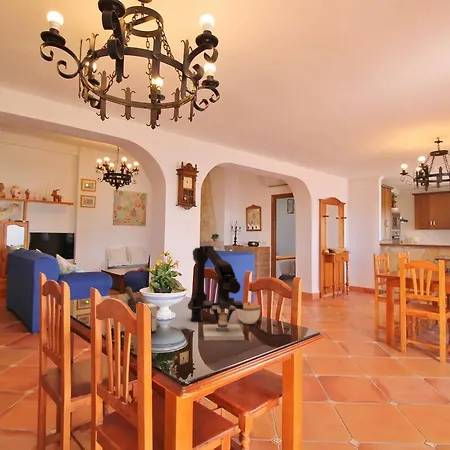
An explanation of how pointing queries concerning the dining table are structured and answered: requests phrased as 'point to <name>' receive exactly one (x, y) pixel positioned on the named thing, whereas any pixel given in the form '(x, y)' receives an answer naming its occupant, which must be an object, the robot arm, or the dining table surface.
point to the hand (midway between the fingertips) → (222, 323)
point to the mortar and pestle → (133, 299)
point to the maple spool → (222, 320)
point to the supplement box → (153, 315)
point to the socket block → (223, 332)
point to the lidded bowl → (249, 313)
